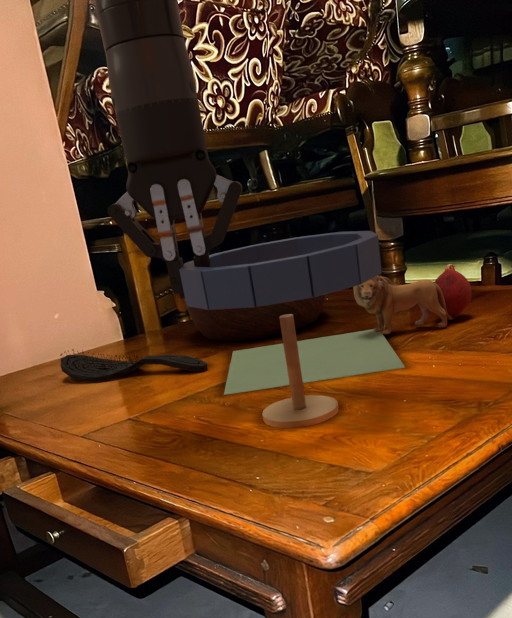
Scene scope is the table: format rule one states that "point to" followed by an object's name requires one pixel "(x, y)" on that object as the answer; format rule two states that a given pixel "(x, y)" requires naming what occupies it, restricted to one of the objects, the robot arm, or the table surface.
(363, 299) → the lion figurine
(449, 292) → the onion
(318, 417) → the dowel stand
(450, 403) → the table surface
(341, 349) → the green mat
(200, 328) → the wooden bowl
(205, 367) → the hairbrush
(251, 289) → the blue ring
